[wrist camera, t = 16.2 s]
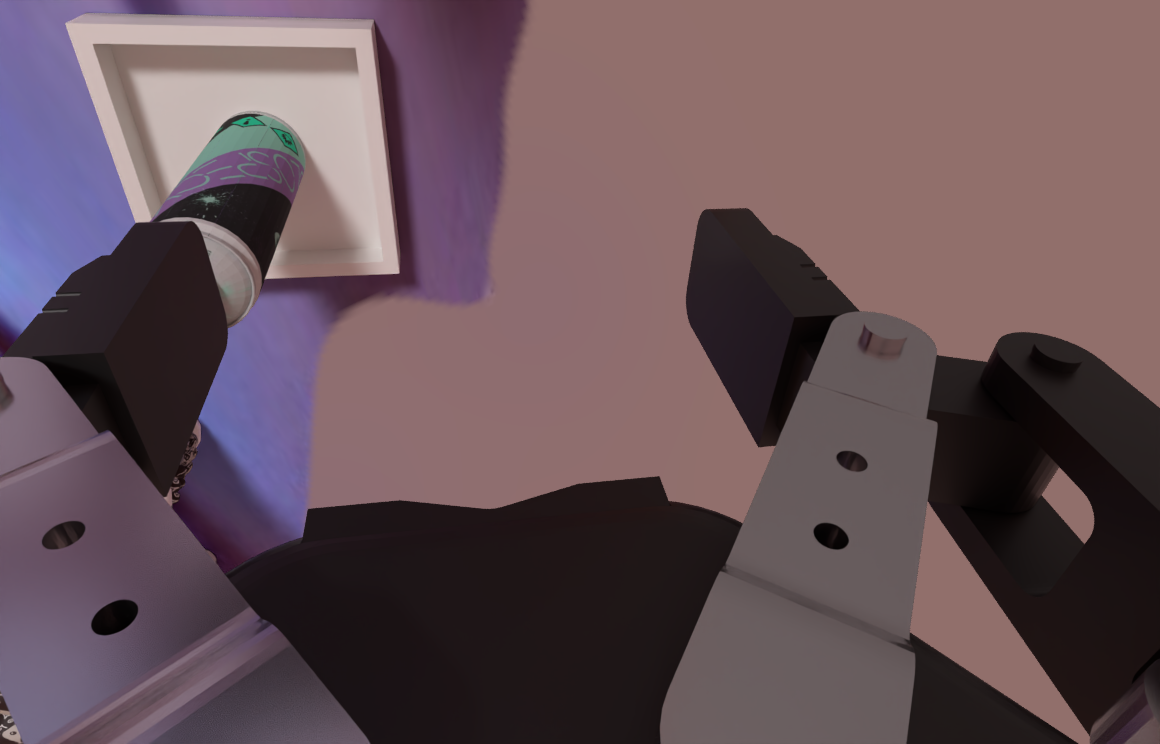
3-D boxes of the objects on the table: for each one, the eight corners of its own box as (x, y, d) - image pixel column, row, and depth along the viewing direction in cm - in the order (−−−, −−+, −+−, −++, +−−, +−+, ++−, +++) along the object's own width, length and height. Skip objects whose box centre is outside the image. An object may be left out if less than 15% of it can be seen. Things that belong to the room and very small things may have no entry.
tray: (86, 12, 40) (65, 23, 37) (373, 19, 43) (370, 29, 40) (169, 262, 49) (157, 282, 47) (400, 254, 52) (399, 273, 50)
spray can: (323, 170, 47) (274, 331, 31) (254, 206, 47) (171, 382, 31) (270, 94, 43) (184, 231, 28) (196, 134, 44) (70, 290, 28)
